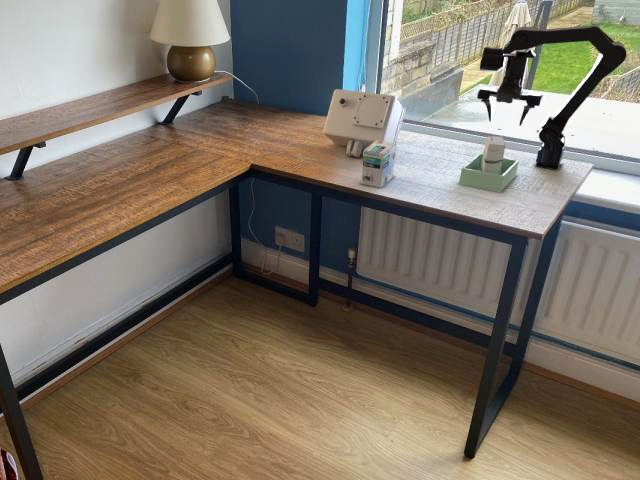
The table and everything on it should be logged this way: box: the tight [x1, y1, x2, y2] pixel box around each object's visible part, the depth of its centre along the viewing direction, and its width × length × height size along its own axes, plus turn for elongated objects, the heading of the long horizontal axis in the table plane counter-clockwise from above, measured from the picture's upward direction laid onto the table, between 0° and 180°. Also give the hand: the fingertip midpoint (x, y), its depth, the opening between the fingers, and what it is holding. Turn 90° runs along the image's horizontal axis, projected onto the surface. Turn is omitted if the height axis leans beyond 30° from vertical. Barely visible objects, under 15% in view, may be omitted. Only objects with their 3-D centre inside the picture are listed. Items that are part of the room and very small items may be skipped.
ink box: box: [480, 135, 506, 175], centre depth 178 cm, size 9×5×12 cm, turn 165°
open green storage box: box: [458, 152, 520, 193], centre depth 180 cm, size 12×15×5 cm
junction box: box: [322, 88, 406, 158], centre depth 202 cm, size 24×15×22 cm
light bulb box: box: [361, 140, 397, 189], centre depth 181 cm, size 11×7×11 cm, turn 148°
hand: (505, 123), depth 189 cm, fingers open, 9 cm apart
